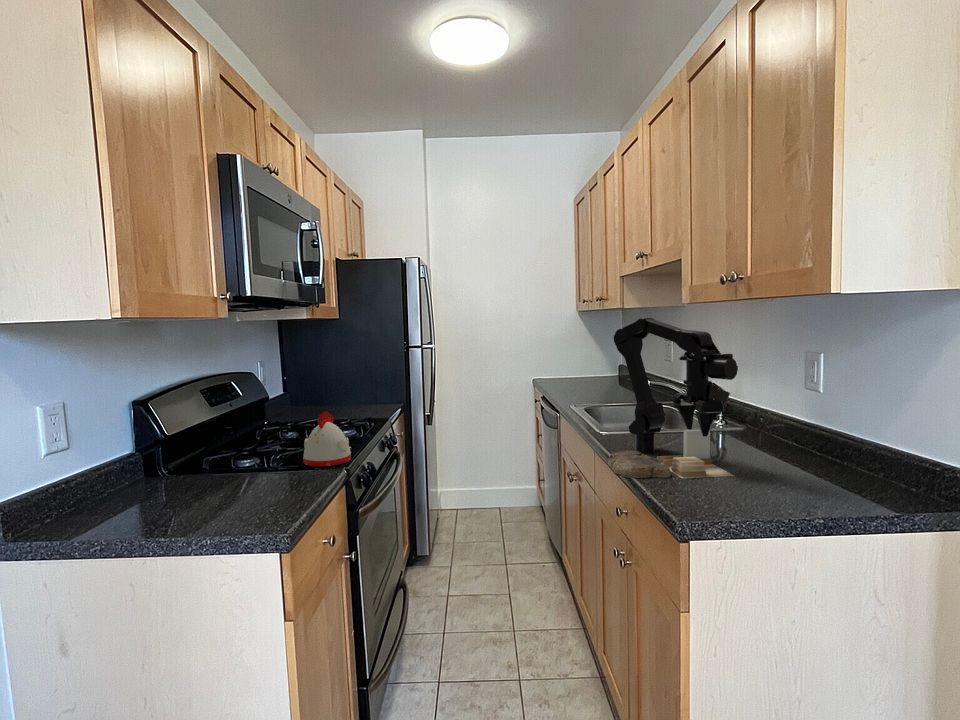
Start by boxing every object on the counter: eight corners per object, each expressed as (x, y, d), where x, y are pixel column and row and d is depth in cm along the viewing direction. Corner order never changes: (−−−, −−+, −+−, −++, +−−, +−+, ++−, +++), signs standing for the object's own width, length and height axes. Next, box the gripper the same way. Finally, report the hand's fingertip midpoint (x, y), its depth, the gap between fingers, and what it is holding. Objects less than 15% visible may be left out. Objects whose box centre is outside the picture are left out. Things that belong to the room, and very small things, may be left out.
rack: (653, 463, 156) (653, 455, 156) (701, 461, 157) (701, 453, 157) (681, 481, 138) (681, 472, 138) (735, 478, 139) (735, 470, 139)
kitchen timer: (294, 465, 162) (292, 415, 161) (318, 454, 175) (316, 408, 174) (337, 467, 159) (335, 416, 158) (358, 455, 172) (356, 408, 171)
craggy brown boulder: (600, 462, 159) (618, 481, 139) (600, 446, 158) (618, 462, 138) (648, 463, 159) (673, 482, 139) (649, 446, 159) (673, 463, 139)
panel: (683, 461, 153) (683, 429, 153) (706, 460, 154) (706, 429, 153) (686, 463, 151) (686, 431, 151) (709, 462, 152) (709, 430, 151)
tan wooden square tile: (671, 470, 145) (671, 466, 145) (694, 469, 145) (694, 465, 145) (681, 476, 139) (681, 472, 139) (705, 475, 139) (705, 471, 139)
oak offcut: (672, 466, 145) (672, 461, 144) (694, 465, 145) (694, 460, 145) (681, 472, 139) (681, 467, 139) (705, 471, 139) (705, 466, 139)
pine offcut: (672, 462, 144) (672, 457, 144) (694, 461, 145) (694, 456, 145) (681, 467, 139) (681, 462, 139) (704, 466, 140) (704, 461, 139)
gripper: (744, 379, 142) (743, 438, 143) (708, 373, 161) (708, 425, 162) (702, 380, 141) (702, 440, 142) (672, 374, 160) (672, 427, 161)
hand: (697, 432), depth 152 cm, fingers open, 9 cm apart
